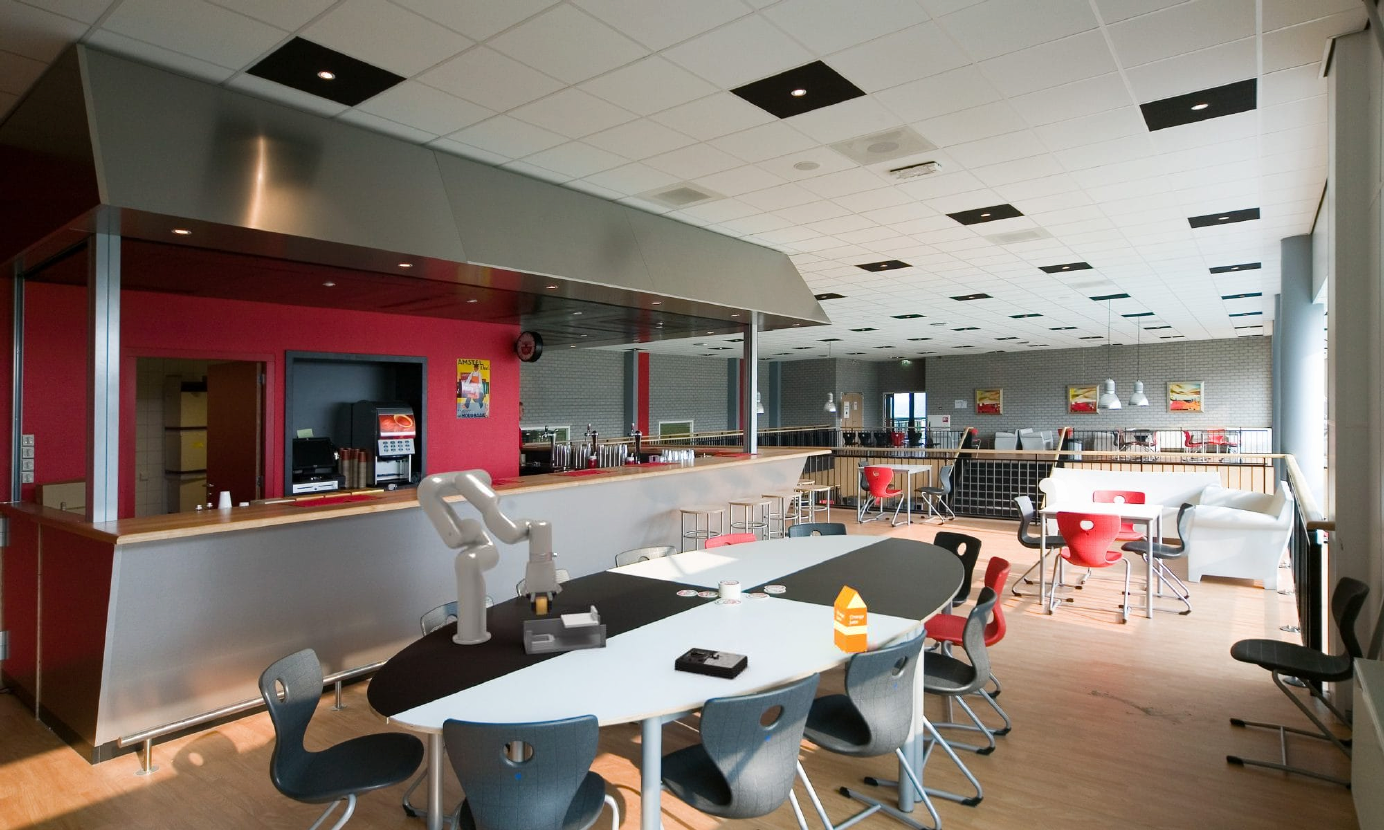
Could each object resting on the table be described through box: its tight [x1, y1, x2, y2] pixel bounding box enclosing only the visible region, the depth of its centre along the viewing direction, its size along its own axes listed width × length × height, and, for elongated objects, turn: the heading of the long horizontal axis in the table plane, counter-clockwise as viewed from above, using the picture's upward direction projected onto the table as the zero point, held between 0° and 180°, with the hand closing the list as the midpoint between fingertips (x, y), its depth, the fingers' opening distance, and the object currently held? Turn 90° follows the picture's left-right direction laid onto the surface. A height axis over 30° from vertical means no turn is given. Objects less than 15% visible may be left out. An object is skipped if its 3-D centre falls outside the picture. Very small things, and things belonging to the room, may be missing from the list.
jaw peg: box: [535, 596, 549, 616], centre depth 250 cm, size 4×4×5 cm
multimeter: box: [674, 647, 749, 680], centre depth 230 cm, size 13×19×5 cm
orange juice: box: [833, 585, 868, 653], centre depth 249 cm, size 8×9×20 cm
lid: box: [560, 605, 599, 628], centre depth 254 cm, size 13×11×4 cm
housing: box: [523, 614, 607, 655], centre depth 252 cm, size 13×26×7 cm, turn 106°
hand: (541, 611), depth 250 cm, fingers closed on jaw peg, 4 cm apart
